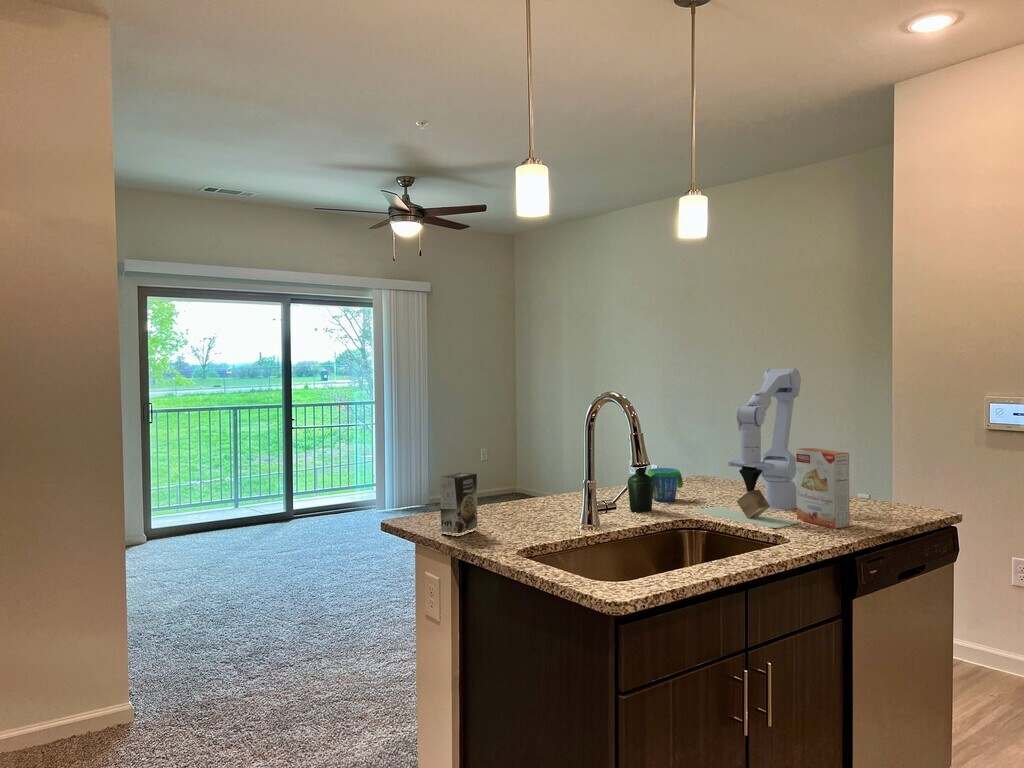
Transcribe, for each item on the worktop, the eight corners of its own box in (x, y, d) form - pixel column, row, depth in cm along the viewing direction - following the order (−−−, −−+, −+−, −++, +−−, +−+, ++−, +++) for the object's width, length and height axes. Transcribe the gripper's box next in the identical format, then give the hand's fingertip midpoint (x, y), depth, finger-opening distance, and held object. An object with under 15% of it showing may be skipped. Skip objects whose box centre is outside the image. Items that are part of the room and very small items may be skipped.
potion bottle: (647, 508, 232) (646, 451, 231) (658, 512, 224) (658, 454, 223) (623, 509, 230) (623, 452, 229) (634, 514, 222) (633, 455, 221)
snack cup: (654, 504, 237) (654, 473, 237) (635, 499, 247) (635, 469, 247) (692, 500, 244) (692, 470, 244) (672, 495, 254) (672, 466, 253)
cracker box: (795, 520, 210) (794, 448, 210) (811, 518, 213) (810, 447, 212) (834, 529, 198) (833, 453, 197) (850, 527, 200) (850, 451, 200)
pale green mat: (715, 507, 230) (715, 506, 230) (800, 523, 206) (800, 522, 206) (690, 512, 223) (689, 511, 223) (775, 529, 199) (775, 527, 199)
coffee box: (459, 537, 194) (458, 477, 194) (440, 535, 198) (439, 476, 198) (478, 531, 202) (477, 473, 202) (459, 528, 206) (459, 471, 205)
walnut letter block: (759, 489, 214) (770, 506, 211) (747, 499, 217) (758, 516, 214) (748, 491, 211) (759, 508, 208) (736, 501, 215) (747, 518, 212)
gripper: (721, 445, 217) (721, 491, 217) (763, 449, 205) (763, 497, 205) (736, 444, 221) (736, 489, 221) (778, 448, 209) (778, 495, 209)
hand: (750, 493), depth 213 cm, fingers closed, pressing on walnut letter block
